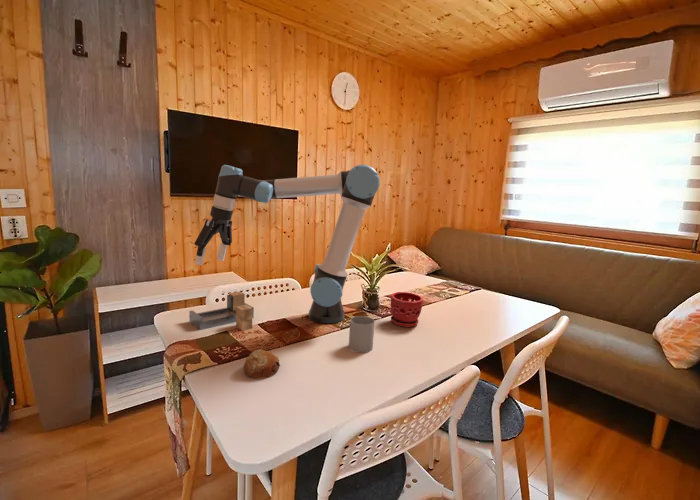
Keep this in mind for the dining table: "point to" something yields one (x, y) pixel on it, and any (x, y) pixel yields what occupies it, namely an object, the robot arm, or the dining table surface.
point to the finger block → (244, 317)
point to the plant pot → (405, 308)
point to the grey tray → (219, 313)
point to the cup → (361, 334)
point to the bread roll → (261, 364)
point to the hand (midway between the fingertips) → (209, 262)
